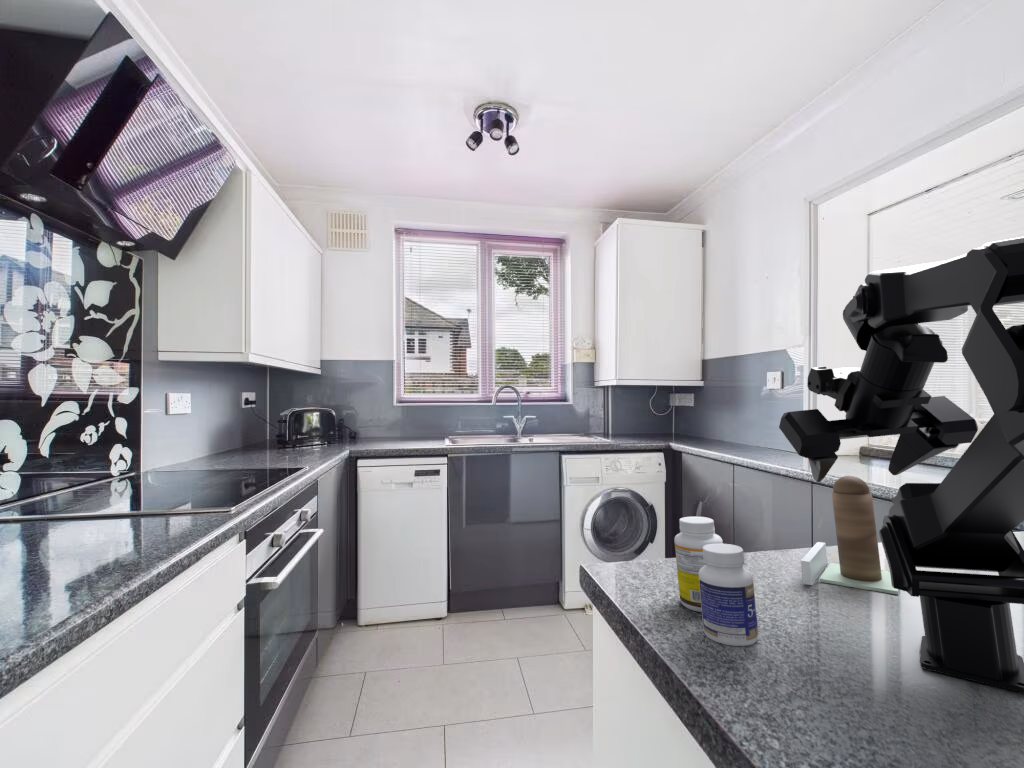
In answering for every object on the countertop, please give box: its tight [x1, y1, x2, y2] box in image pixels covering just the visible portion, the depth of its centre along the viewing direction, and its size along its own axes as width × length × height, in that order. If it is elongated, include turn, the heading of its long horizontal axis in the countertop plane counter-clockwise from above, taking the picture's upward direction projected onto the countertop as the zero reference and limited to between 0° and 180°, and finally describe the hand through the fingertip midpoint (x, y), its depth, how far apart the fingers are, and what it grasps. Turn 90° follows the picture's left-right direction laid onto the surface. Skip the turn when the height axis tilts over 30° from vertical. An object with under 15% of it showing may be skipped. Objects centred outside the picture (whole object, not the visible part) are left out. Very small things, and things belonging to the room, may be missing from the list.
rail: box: [800, 541, 829, 586], centre depth 64 cm, size 11×1×3 cm, turn 137°
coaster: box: [819, 562, 900, 595], centre depth 61 cm, size 8×8×1 cm
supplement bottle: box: [673, 516, 724, 613], centre depth 56 cm, size 6×6×10 cm
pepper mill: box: [831, 475, 882, 582], centre depth 61 cm, size 4×4×13 cm
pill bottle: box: [699, 543, 760, 647], centre depth 48 cm, size 5×5×9 cm
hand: (853, 476), depth 59 cm, fingers open, 9 cm apart
